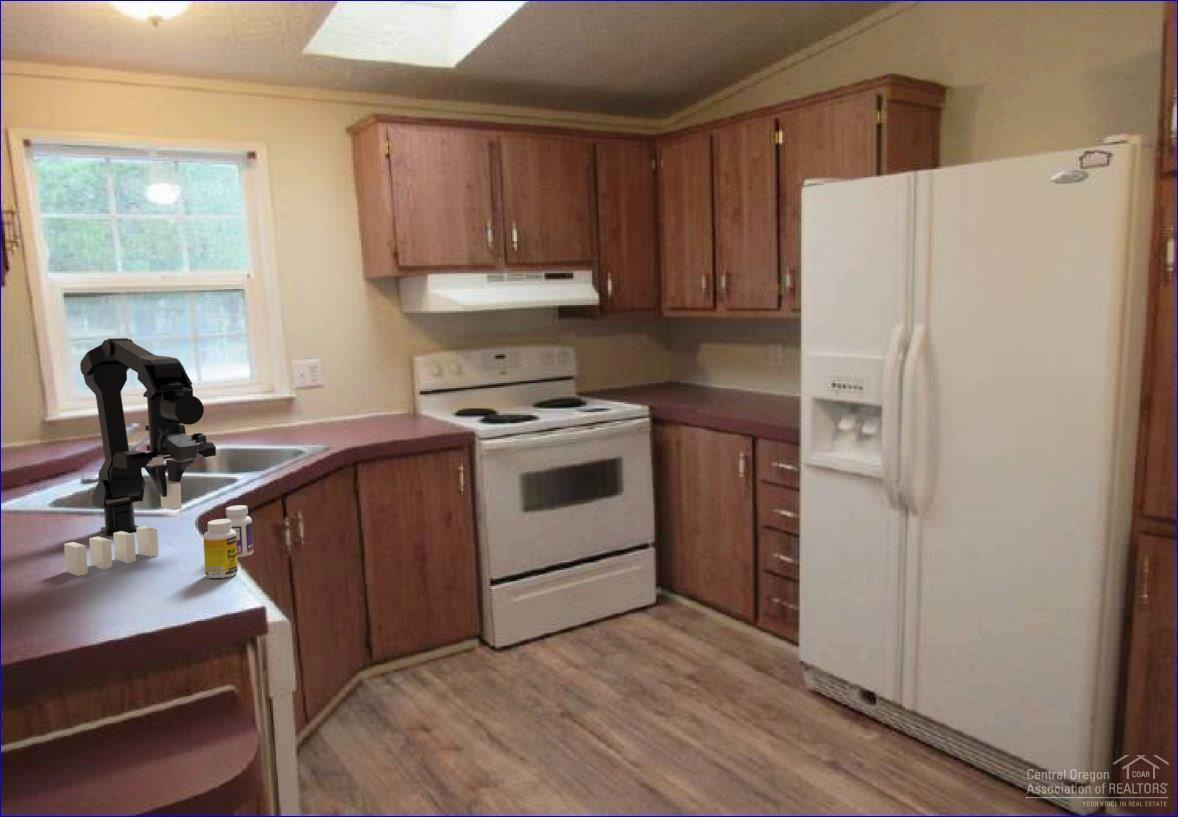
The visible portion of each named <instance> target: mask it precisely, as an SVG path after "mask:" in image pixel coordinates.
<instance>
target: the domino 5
mask: <svg viewBox="0 0 1178 817" xmlns="http://www.w3.org/2000/svg"><path fill="white" fill-rule="evenodd" d="M166 484H167V496H166V497H162V495H161V494H160V505H161V506H160V508H165V509H168V510H173V511H177V510H182V509H183V508H182V505H183V504H182V492H181V490H182V489H181V481H180V482H175V481H170V480H168V479H166Z"/></svg>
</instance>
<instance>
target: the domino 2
mask: <svg viewBox="0 0 1178 817" xmlns="http://www.w3.org/2000/svg"><path fill="white" fill-rule="evenodd" d="M89 551H90V552H89V553H90V554H89V556H90V566H91V565H93V566H92V567H94V566H97V567H99V568H98V569H101V568H102V569H101V570H107V569H106V568H108V569H111V568H110V567H112V568H113V555H112V554H113V552H112V540H111V539H108V538H105V537H102V536H98V535H97V536H93V537H89ZM97 567H96V568H97Z"/></svg>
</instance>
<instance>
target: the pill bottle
mask: <svg viewBox="0 0 1178 817" xmlns="http://www.w3.org/2000/svg"><path fill="white" fill-rule="evenodd" d="M248 514H249V510H248V505H245V504H244V505H243V504H241V505H240V504H239V505H230V506H227V507H226V508H225V516H226V518H225V519H229V520H231V525H232V526H231V529H233V530H235V531H236V538H237V559H239V558H245V557H249V556H251V555H253V553H254V537H253V535H254V534H253V533H254V532H253V520H252V518H251V516H249V515H248Z"/></svg>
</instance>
